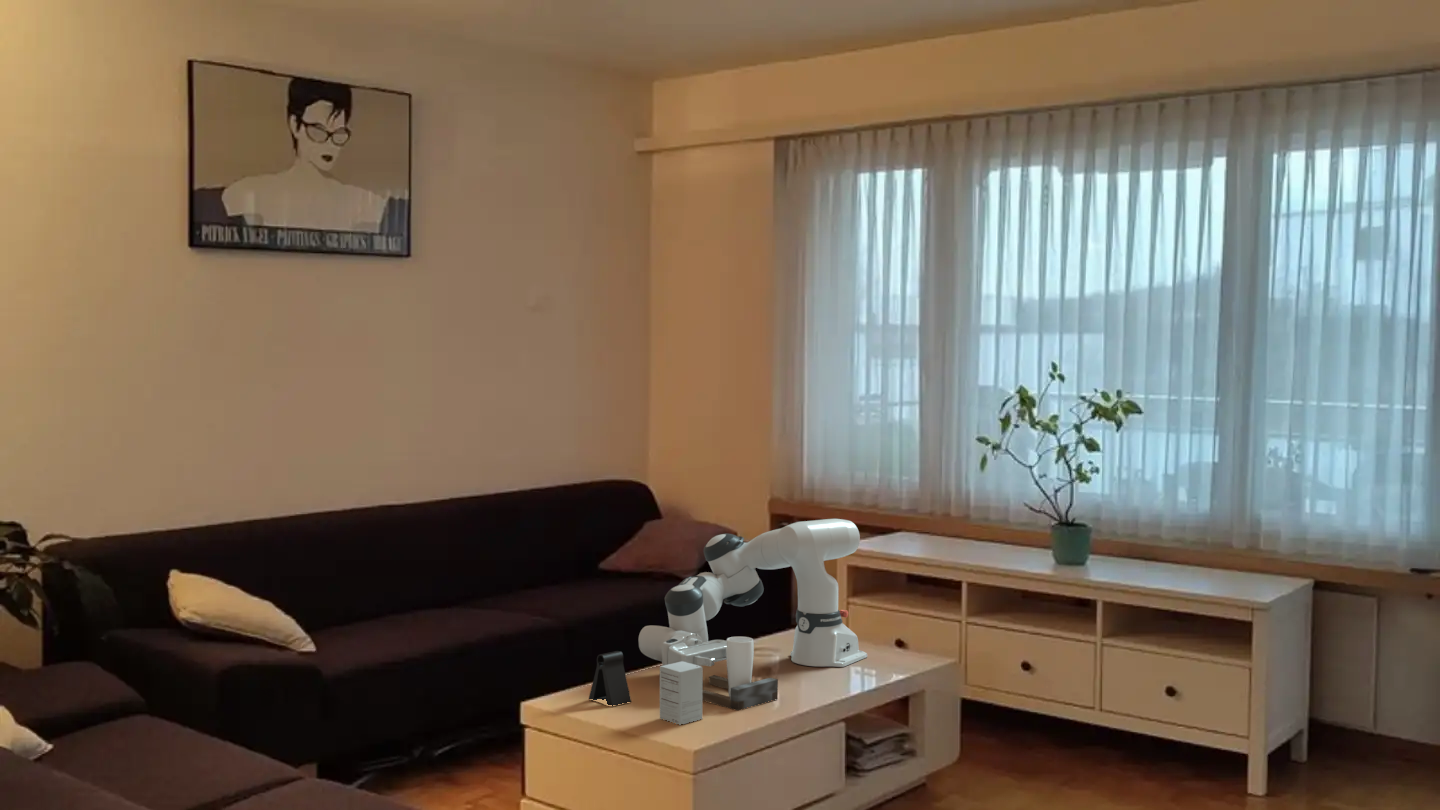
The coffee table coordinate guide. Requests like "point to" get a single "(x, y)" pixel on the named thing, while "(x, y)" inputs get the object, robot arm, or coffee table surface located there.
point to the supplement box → (681, 692)
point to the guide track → (742, 693)
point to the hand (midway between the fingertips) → (726, 659)
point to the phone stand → (610, 679)
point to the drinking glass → (739, 661)
